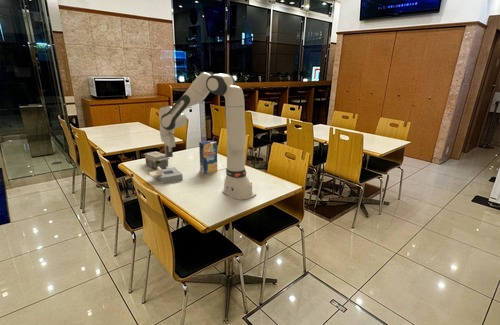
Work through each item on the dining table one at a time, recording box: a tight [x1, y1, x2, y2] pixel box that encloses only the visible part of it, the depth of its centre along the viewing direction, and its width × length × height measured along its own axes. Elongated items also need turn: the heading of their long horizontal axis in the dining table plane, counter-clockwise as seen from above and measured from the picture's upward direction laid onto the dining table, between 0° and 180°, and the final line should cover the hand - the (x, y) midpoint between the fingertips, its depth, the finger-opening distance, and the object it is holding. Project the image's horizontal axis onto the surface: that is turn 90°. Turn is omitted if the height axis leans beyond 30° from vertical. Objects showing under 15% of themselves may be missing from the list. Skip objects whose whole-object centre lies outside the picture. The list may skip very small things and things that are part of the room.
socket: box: [154, 167, 184, 184], centre depth 192 cm, size 16×14×4 cm
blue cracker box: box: [198, 140, 218, 175], centre depth 205 cm, size 7×11×22 cm, turn 127°
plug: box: [163, 142, 174, 158], centre depth 188 cm, size 4×4×9 cm
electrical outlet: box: [143, 151, 171, 170], centre depth 213 cm, size 12×28×10 cm, turn 42°
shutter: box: [148, 167, 163, 177], centre depth 186 cm, size 7×7×4 cm
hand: (168, 150), depth 188 cm, fingers closed on plug, 4 cm apart
